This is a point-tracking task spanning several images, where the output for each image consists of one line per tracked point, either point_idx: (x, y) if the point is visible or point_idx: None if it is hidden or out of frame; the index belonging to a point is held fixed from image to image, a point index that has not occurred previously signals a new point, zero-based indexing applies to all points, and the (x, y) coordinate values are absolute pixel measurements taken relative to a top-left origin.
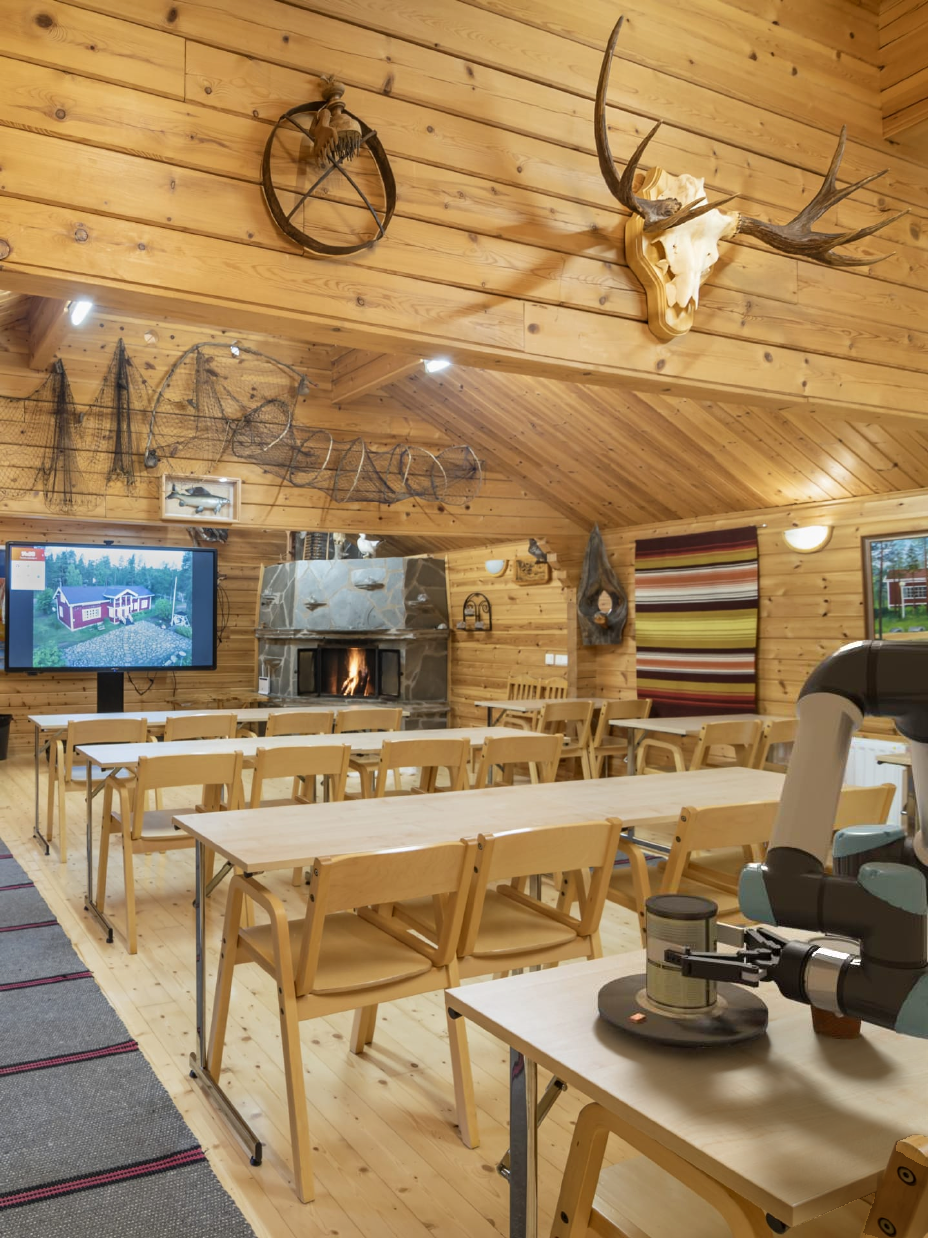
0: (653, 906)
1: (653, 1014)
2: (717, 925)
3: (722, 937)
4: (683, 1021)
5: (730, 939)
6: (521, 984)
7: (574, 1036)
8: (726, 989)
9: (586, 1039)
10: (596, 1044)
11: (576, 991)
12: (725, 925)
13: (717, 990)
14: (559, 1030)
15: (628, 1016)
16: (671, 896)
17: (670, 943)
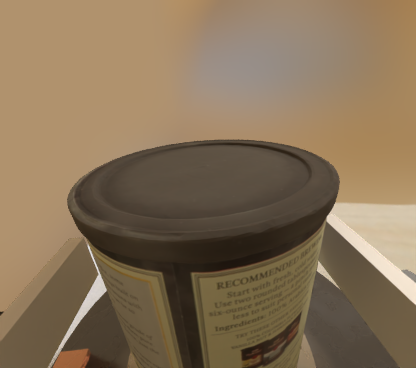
0: (115, 160)
1: (120, 360)
2: (353, 252)
3: (359, 294)
4: None
5: (387, 328)
6: None
7: (85, 299)
8: (359, 362)
9: (81, 314)
10: (68, 335)
11: None
12: (383, 271)
13: (331, 353)
14: (96, 279)
15: (90, 335)
16: (241, 145)
17: (26, 297)
